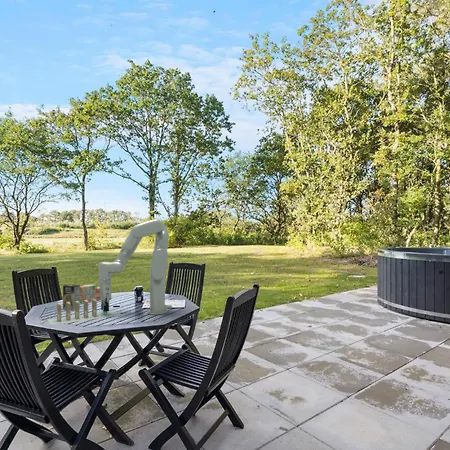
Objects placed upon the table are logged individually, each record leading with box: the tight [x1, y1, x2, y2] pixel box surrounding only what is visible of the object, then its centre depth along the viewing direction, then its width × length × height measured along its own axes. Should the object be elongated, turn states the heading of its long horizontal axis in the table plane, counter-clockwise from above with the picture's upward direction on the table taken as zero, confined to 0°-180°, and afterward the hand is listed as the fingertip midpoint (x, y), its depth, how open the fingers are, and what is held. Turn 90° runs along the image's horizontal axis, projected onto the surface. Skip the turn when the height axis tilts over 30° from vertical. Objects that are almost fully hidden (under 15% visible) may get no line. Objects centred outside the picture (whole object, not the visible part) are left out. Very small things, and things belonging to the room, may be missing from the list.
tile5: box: [65, 302, 72, 321], centre depth 214 cm, size 2×5×10 cm, turn 34°
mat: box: [47, 310, 121, 326], centre depth 220 cm, size 40×14×1 cm, turn 124°
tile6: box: [56, 302, 62, 322], centre depth 212 cm, size 2×5×10 cm, turn 34°
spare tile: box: [102, 299, 108, 315], centre depth 226 cm, size 2×5×10 cm, turn 34°
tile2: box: [91, 299, 98, 317], centre depth 223 cm, size 2×5×10 cm, turn 34°
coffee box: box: [62, 284, 81, 311], centre depth 243 cm, size 9×6×16 cm
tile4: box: [74, 301, 81, 319], centre depth 217 cm, size 2×5×10 cm, turn 34°
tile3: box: [83, 300, 89, 318], centre depth 220 cm, size 2×5×10 cm, turn 34°
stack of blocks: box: [80, 284, 101, 305], centre depth 270 cm, size 21×6×12 cm, turn 145°
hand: (105, 310), depth 226 cm, fingers closed on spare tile, 4 cm apart
